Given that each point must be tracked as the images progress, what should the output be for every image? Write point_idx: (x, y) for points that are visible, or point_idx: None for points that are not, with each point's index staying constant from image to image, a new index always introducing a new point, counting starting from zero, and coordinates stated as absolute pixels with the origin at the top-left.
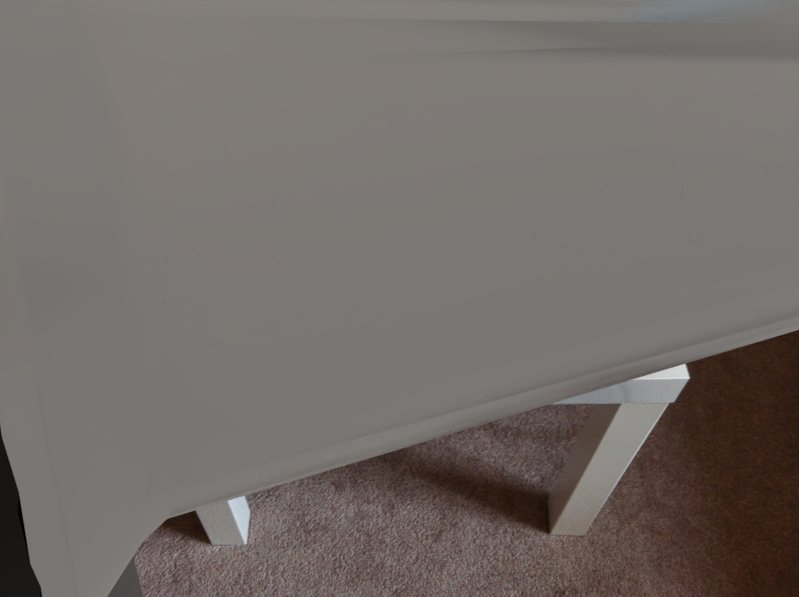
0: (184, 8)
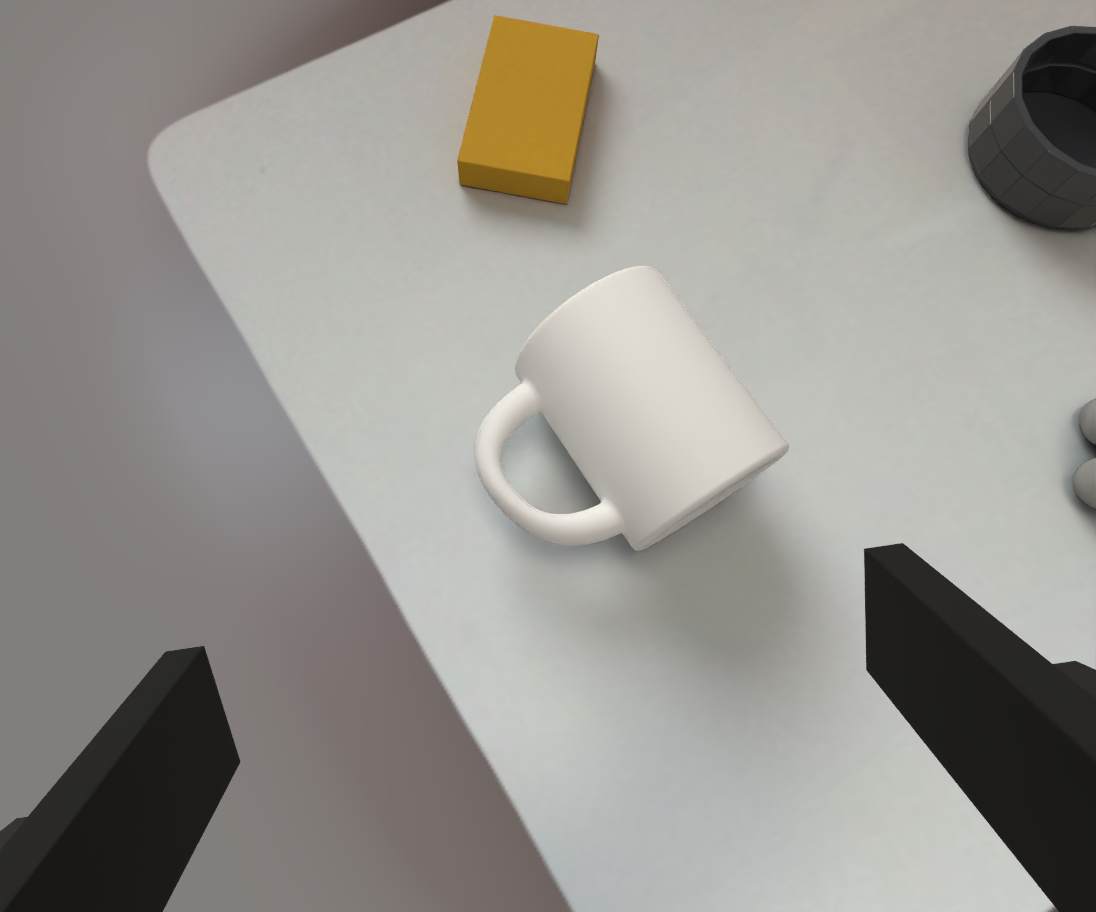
0: None
